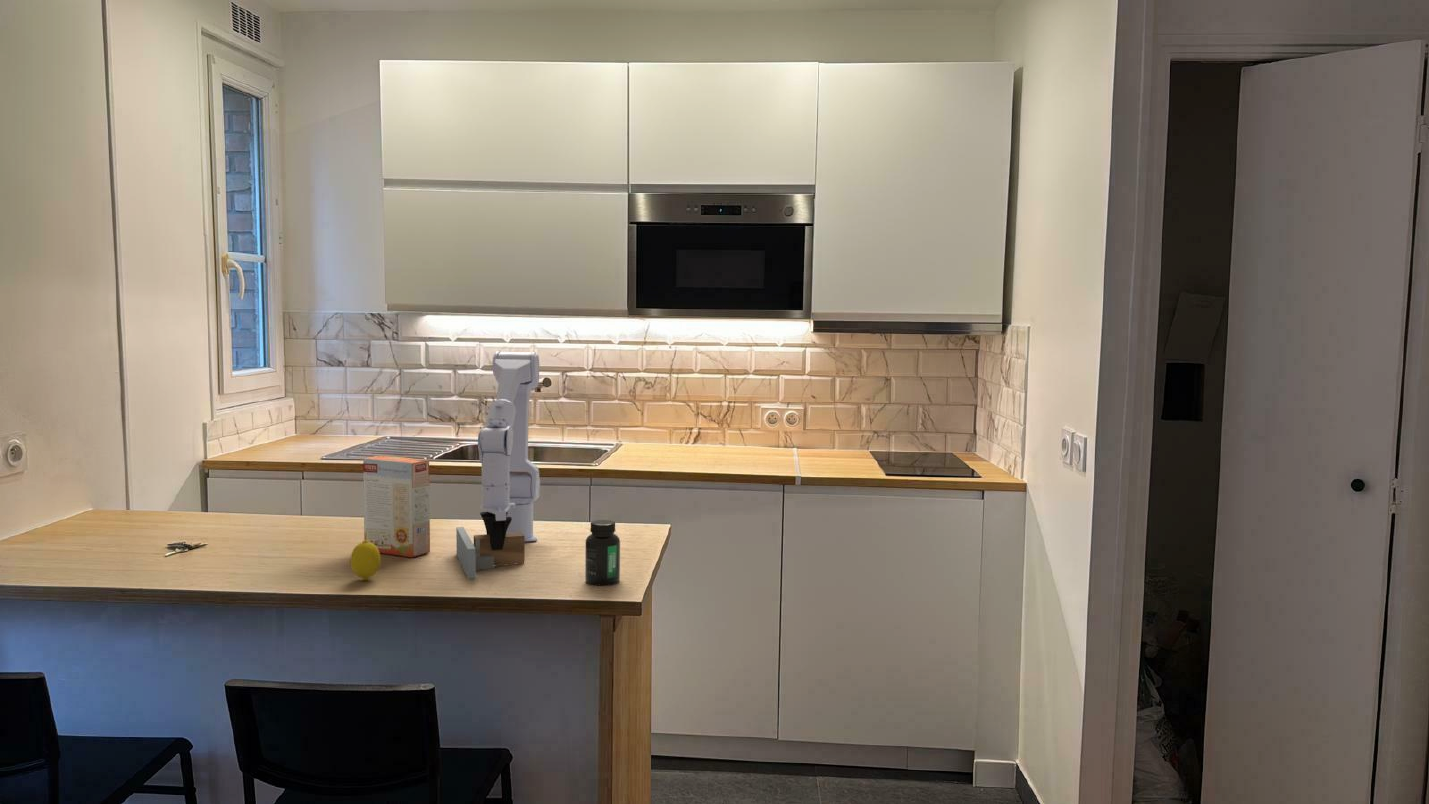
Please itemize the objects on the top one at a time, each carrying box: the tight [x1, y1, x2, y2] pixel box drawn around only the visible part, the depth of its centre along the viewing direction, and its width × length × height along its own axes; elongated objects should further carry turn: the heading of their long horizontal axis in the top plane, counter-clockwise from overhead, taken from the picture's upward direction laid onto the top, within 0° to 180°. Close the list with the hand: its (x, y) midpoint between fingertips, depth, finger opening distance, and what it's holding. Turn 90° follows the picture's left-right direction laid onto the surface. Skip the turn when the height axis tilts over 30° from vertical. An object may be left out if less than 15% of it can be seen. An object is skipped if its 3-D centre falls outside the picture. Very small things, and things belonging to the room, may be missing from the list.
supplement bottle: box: [584, 519, 621, 587], centre depth 187 cm, size 7×7×12 cm
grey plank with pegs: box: [455, 526, 495, 579], centre depth 198 cm, size 20×6×6 cm, turn 22°
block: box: [473, 532, 526, 566], centre depth 199 cm, size 4×10×6 cm, turn 112°
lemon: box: [350, 539, 381, 581], centre depth 185 cm, size 6×6×8 cm
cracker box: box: [362, 455, 431, 558], centre depth 206 cm, size 14×6×21 cm, turn 65°
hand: (495, 547), depth 199 cm, fingers closed on block, 3 cm apart
